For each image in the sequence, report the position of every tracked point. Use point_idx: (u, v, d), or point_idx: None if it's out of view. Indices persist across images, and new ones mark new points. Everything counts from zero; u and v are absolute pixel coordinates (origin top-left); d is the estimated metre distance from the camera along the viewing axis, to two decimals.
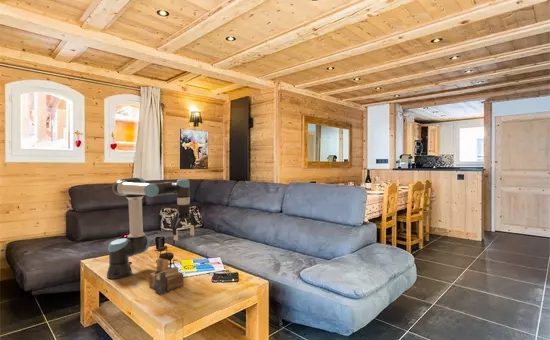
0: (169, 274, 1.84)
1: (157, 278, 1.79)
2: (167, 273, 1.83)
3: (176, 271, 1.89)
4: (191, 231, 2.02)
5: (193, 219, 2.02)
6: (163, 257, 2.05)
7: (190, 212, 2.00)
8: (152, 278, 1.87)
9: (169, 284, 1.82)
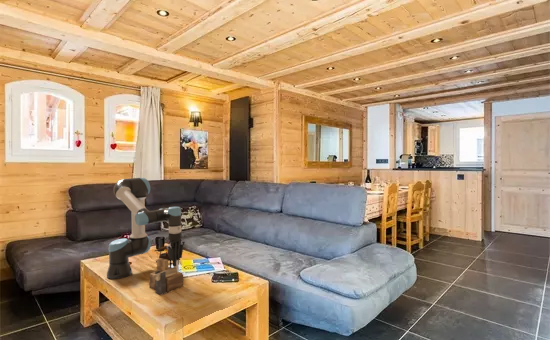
0: (168, 275, 1.84)
1: (156, 279, 1.78)
2: (166, 274, 1.82)
3: (175, 272, 1.88)
4: None
5: (180, 252, 1.93)
6: (163, 257, 2.05)
7: (181, 242, 1.94)
8: (152, 278, 1.87)
9: (169, 284, 1.82)
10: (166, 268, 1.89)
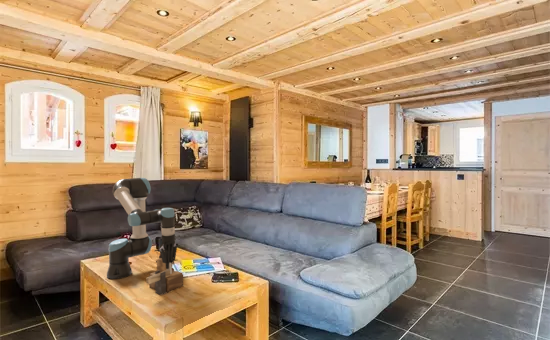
0: None
1: (148, 282, 1.74)
2: (158, 277, 1.78)
3: (168, 274, 1.84)
4: None
5: (173, 254, 1.88)
6: None
7: (175, 244, 1.89)
8: None
9: (169, 284, 1.82)
10: None
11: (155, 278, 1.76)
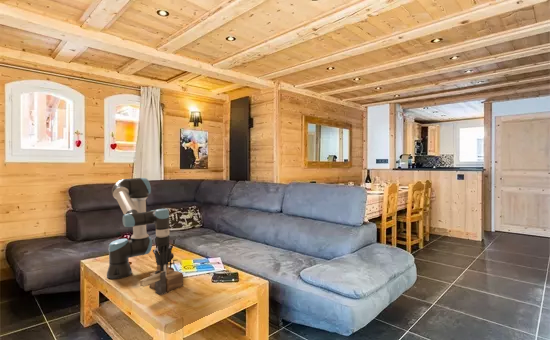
0: (155, 280, 1.76)
1: (141, 284, 1.70)
2: (152, 279, 1.74)
3: None
4: None
5: (168, 256, 1.85)
6: None
7: (169, 246, 1.86)
8: None
9: (169, 284, 1.82)
10: None
11: (149, 281, 1.73)
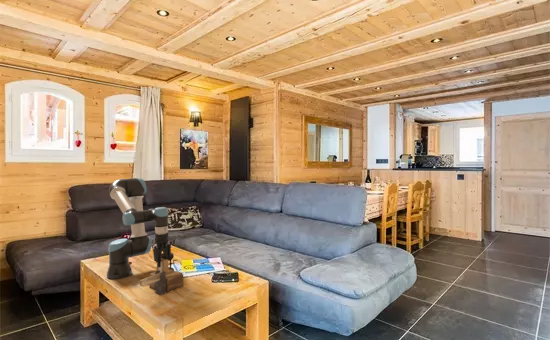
0: (155, 280, 1.76)
1: (141, 284, 1.70)
2: (152, 279, 1.74)
3: None
4: None
5: (168, 251, 1.94)
6: (163, 257, 2.05)
7: (168, 243, 1.95)
8: None
9: (169, 284, 1.82)
10: (166, 268, 1.89)
11: (149, 281, 1.73)
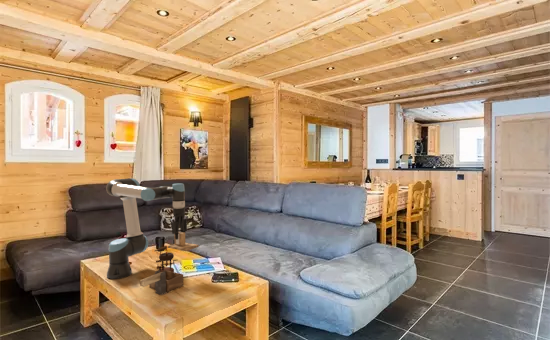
0: (155, 280, 1.76)
1: (141, 284, 1.70)
2: (152, 279, 1.74)
3: None
4: None
5: (184, 225, 2.06)
6: (163, 257, 2.05)
7: (185, 217, 2.06)
8: None
9: (169, 284, 1.82)
10: (183, 240, 2.01)
11: (149, 281, 1.73)
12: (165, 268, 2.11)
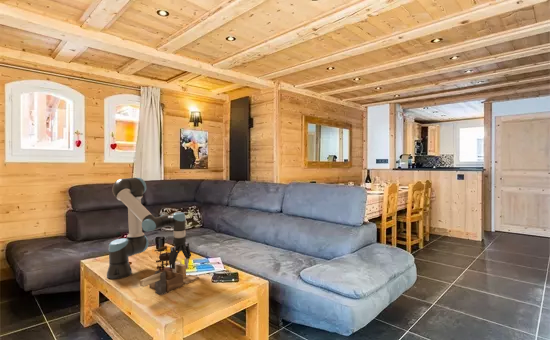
0: (155, 280, 1.76)
1: (141, 284, 1.70)
2: (152, 279, 1.74)
3: None
4: (185, 264, 2.08)
5: (188, 252, 2.08)
6: (163, 257, 2.05)
7: (186, 244, 2.07)
8: None
9: (169, 284, 1.82)
10: (184, 273, 2.02)
11: (149, 281, 1.73)
12: (165, 268, 2.11)
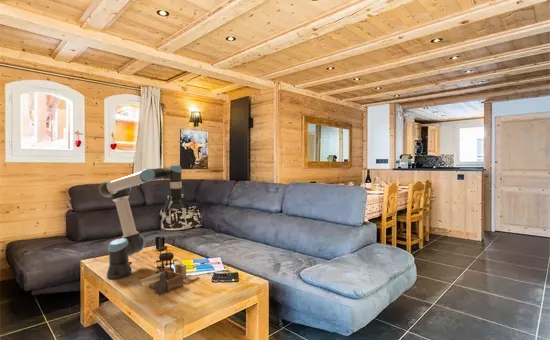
0: (155, 280, 1.76)
1: (141, 284, 1.70)
2: (152, 279, 1.74)
3: None
4: (183, 213, 2.18)
5: (185, 202, 2.18)
6: (163, 257, 2.05)
7: (182, 196, 2.16)
8: None
9: (169, 284, 1.82)
10: (184, 273, 2.02)
11: (149, 281, 1.73)
12: (165, 268, 2.11)
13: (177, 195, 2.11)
